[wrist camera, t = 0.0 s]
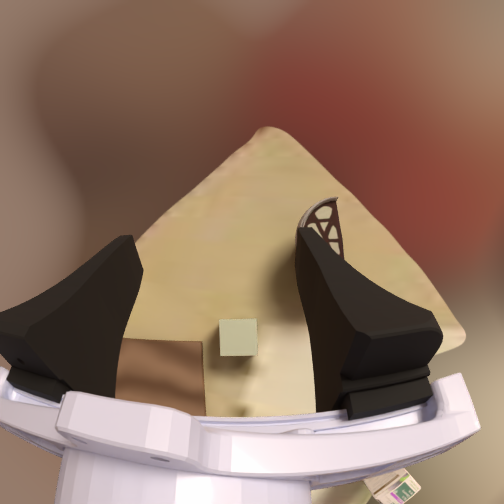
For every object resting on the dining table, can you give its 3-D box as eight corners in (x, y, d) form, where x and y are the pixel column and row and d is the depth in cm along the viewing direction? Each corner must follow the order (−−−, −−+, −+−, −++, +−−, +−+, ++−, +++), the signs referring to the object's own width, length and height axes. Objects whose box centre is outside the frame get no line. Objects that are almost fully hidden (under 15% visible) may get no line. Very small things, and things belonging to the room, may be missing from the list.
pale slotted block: (257, 350, 42) (257, 355, 36) (225, 351, 42) (220, 355, 36) (256, 318, 43) (256, 318, 37) (224, 319, 43) (219, 319, 38)
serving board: (207, 434, 39) (206, 437, 37) (119, 423, 39) (116, 425, 37) (202, 341, 42) (200, 342, 41) (112, 337, 42) (107, 337, 41)
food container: (285, 219, 46) (292, 194, 36) (322, 217, 46) (337, 192, 36) (292, 295, 44) (301, 289, 34) (330, 292, 43) (350, 285, 34)
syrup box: (387, 452, 37) (424, 487, 22) (361, 472, 36) (391, 513, 22) (372, 435, 38) (409, 470, 23) (345, 456, 37) (373, 499, 23)
